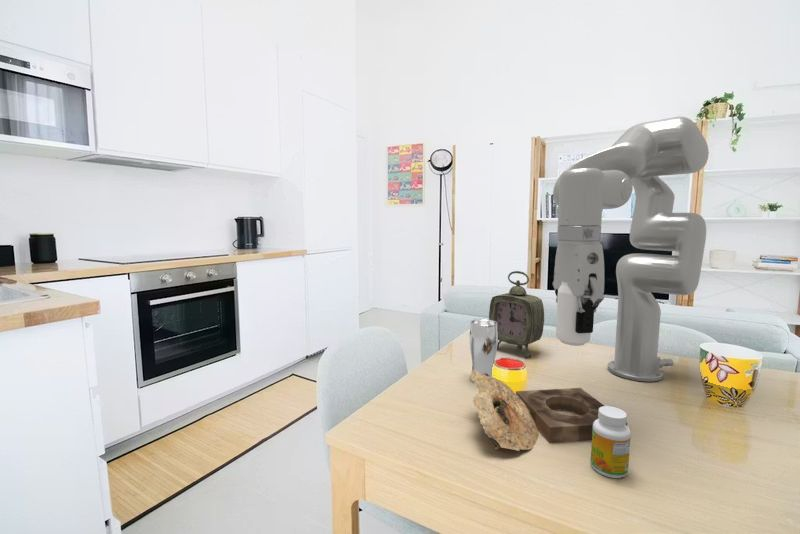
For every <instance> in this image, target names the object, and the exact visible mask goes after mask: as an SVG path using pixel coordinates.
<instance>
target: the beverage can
mask: <svg viewBox="0 0 800 534" xmlns="http://www.w3.org/2000/svg"><path fill="white" fill-rule="evenodd" d="M584 295H589V292H588V293H584ZM583 300H584V304H585V303H586V302H587V301H588V299H583ZM556 304H557V305H556V323H555V324H556V327H555V337H556V339H558V340H559V341H560V342H561V343H562V344H564V345H568V346H576V347H577V346H579V347H580V346H581V347H582V346H585V345H586V344H588V343H590V342H591V337H592V335H591V334H592V333H577V332H576V331H575V329H576V312H579V309H578V303H577V297H576V296H574V295H573V294H572V292H571V290H570V288H569V287H568V284H567V283H564V282H562V284H561V286H560V288H559V289H558V299H557V302H556Z"/></svg>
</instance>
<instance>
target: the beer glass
mask: <svg viewBox="0 0 800 534" xmlns="http://www.w3.org/2000/svg"><path fill="white" fill-rule="evenodd" d="M498 342H499V340H498V323H497V322H496V321H493V320H489V318H488V319H487V318H478V319H477V318H476V319H472V320H470V327H469V350H470V356H471V363H472V365H471V366H472V368H471V372H472V371H475V370H476V371H478V372H480V373H482V374H483V375H486V376H490V377H492V367H493V364H494V365H495V360H496V357H497V353H498V352H497V350H498V349H497V346H498ZM471 378H472V377H471V376H470V381H471V382H472V383H473V384H475V382H473V381H472V380H471Z"/></svg>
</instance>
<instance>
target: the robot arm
mask: <svg viewBox="0 0 800 534" xmlns="http://www.w3.org/2000/svg"><path fill="white" fill-rule="evenodd" d="M708 145H709V144H708V142H707V141H706V138H705V137H704V135H703V133H702V132H701V130H700V128H699V126H698V125H697V124H696V123H695V122H694V121H693V120H692V119H690V118H688V117H686V116H675V117H668V118H664V119H657V120H651V121H646V122H641V123H638V124H637V123H636V124H635V125H633V126H631V127H629V128H628V129H627V130H626V131H624V133H623V134H621V136H620V137H619V138H618V139H617V140H615V142H614V143H613V144H612V145H610V146H609V147H606V148H604V149H602V150H600V151H597V152H595V153H593V154H591V155H588V156H586V157H583V158H580V159H579V160H577V161H576V162H573V163H571V165H569V166H568V167H567V168H566V169H565V170H564V171H563V172H562V173H561V174H560V175H559V176H558V178H557V179H556V181H555V183H554V186H553V191H552V195H553V196H552V197H553V200H554V201H553V202H555V204H556V206H558V209H557V210H558V211H557V212H558V213H557V215H558V216H557V231H556V233H557V235H556V243H557V248H556V251H555V252H556V253H555V259H554V271H553V281H552V286H553V289H554V293H555V296H556V299H555V302H556V303H557V299H558V289H559V288H560V286H561V284H562V282H564V283H567V284H568V287H569V288H570V290H571V292H572V294H573V295H574V296H576V297H577V303H578V309H579V312H576V329H575V331H576V332H577V333H591V334H593V332H594V320H595V318H594V317H595V313H596V312H597V308H598V307H599V306H600V304H601V302H602V301H604V300H605V295H604V293H605V259H604V258H605V257H604V249H603V244H602V243H601V236H602V219H603V218H602V217H603V216H602V215H603V210H613V209H618V208H620V207H623V206H624V205H626V204H627V203H628V202H629V200H630V199H631V197H632V193H633V189H634V193H635V194H634V196H635V202H634V207H633V213H632V217H631V219H632V220H631V224H630V229H629V242H630V245H632V246H633V247H634V248H635V249H640V250H649V251H665V252H666V251H667V252H677V253H678V255H673V254H671V255H668V254H658V253H655V254H654V253H640V252H639V253H637V252H636V253H629V254H626V255H625V254H624V255H623V256H622V257H620V259H618V261H617V263H616V268H615V276H616V281H617V282H616V283H617V293H618V294H617V296H618V297H617V299H618V300H617V314H616V315H617V316H616V326H615V327H616V329H615V331H616V332H615V343H614V344H615V346H614V360H611V361H609V362H608V363H607V366H606V367H607V370H608V371H609V372H610V373H611V374H613V375H616V376H617V377H620V378H625V379H628V380H631V381H632V380H633V381H637V382H638V381H639V382H658V381H661V380H662V379H663V378H664V372H663V371H662V370H661V368H663V367H673V366H674V360H673V359H672V358H663V359H662V358H661V356H658V350H659V337H660V327H661V316H662V315H661V314H662V313H661V312H662V311H661V307H660V303H659V302H658V300H657V299H656V298H655V297H654V295H653V294H652V293H658V294H666V295H667V294H668V295H675V296H689V295H692V294H693V293H694V292H695V291H697V288H698V285H699V282H700V276H701V274H702V273H701V271H702V267H703V266H702V265H703V259H704V253H705V247H706V240H707V239H706V238H707V224H706V220H705V219H704V217H703V216H702V215H700V214H698V213H695V212H673V209H674V204H675V200H676V199H675V193H674V191H673V190H672V188H671V187H670V186H669V185H668V184H667V183H665V181H663V180H662V179H661V178H660V177H661V176H675V175H687V174H695V173H697V172H700V171H701V170H702V169H704V167H705V166H706V164H707V163H708V159H709V154H710V152H709V146H708ZM588 292H589V295H584V293H588ZM583 299H588V301H587V302H586V303H585V304H584V300H583Z"/></svg>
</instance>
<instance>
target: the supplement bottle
mask: <svg viewBox="0 0 800 534" xmlns="http://www.w3.org/2000/svg"><path fill="white" fill-rule="evenodd" d="M627 415H628V414H627V412H625V411H624V410H623V409H620V408H618V407H615V406H611V405H604V406H602V407H600V408H599V411H598V418H599V419H597V420H595V421H594V423H593V429H592V440H591V448H590V466H591V467H592V468H593V469H594V470H595V472H597V473H598V474H600V475H603V476H604V477H607V478H610V477H611V478H610V479H622V477H623V478H625V477H626V476H627V475H628V473H629V466H630V464H629V463H630V454H631V453H630V450H631V439H632V438H631V436H632V433H631V430H630V428H629V426H628V425H627V426H626V423H627V424H628V422H627V421H628V416H627Z"/></svg>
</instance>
